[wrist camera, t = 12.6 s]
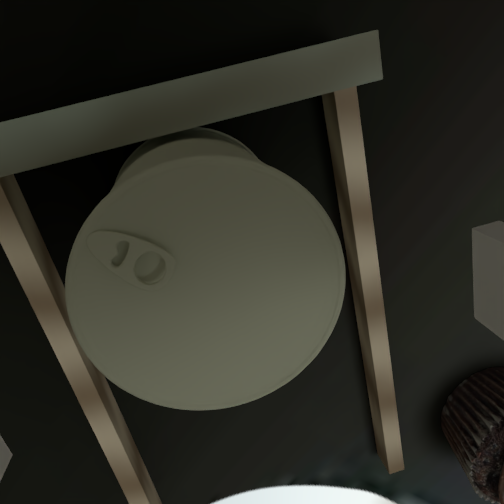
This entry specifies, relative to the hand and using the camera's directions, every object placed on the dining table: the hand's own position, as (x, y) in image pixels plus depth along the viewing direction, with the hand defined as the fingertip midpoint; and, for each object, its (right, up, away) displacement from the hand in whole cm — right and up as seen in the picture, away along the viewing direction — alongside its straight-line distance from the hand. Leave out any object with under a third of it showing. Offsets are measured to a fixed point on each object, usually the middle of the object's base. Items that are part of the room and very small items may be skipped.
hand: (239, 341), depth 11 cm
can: (-3, +5, +14) cm, 15 cm away
